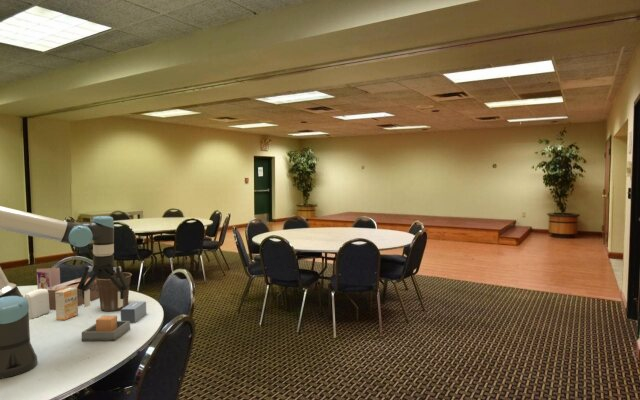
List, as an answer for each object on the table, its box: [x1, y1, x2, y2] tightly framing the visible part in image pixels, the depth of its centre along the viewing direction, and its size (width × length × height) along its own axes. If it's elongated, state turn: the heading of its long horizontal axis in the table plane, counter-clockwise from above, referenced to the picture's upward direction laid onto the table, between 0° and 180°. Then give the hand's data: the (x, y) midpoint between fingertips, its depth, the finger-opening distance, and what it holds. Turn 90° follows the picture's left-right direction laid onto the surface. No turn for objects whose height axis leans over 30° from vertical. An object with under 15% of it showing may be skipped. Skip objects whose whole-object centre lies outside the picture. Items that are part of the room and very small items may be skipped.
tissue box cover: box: [45, 276, 100, 311], centre depth 218 cm, size 26×14×10 cm, turn 166°
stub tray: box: [81, 320, 131, 342], centre depth 171 cm, size 13×13×4 cm
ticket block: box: [120, 300, 147, 324], centre depth 191 cm, size 12×6×6 cm, turn 179°
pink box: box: [36, 267, 61, 289], centre depth 231 cm, size 11×7×15 cm, turn 67°
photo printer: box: [24, 288, 51, 320], centre depth 197 cm, size 10×4×12 cm, turn 162°
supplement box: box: [55, 288, 79, 321], centre depth 193 cm, size 8×5×13 cm, turn 168°
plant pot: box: [96, 271, 133, 312], centre depth 207 cm, size 16×16×16 cm
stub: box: [95, 315, 118, 331], centre depth 171 cm, size 5×6×6 cm
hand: (103, 306), depth 170 cm, fingers open, 13 cm apart
